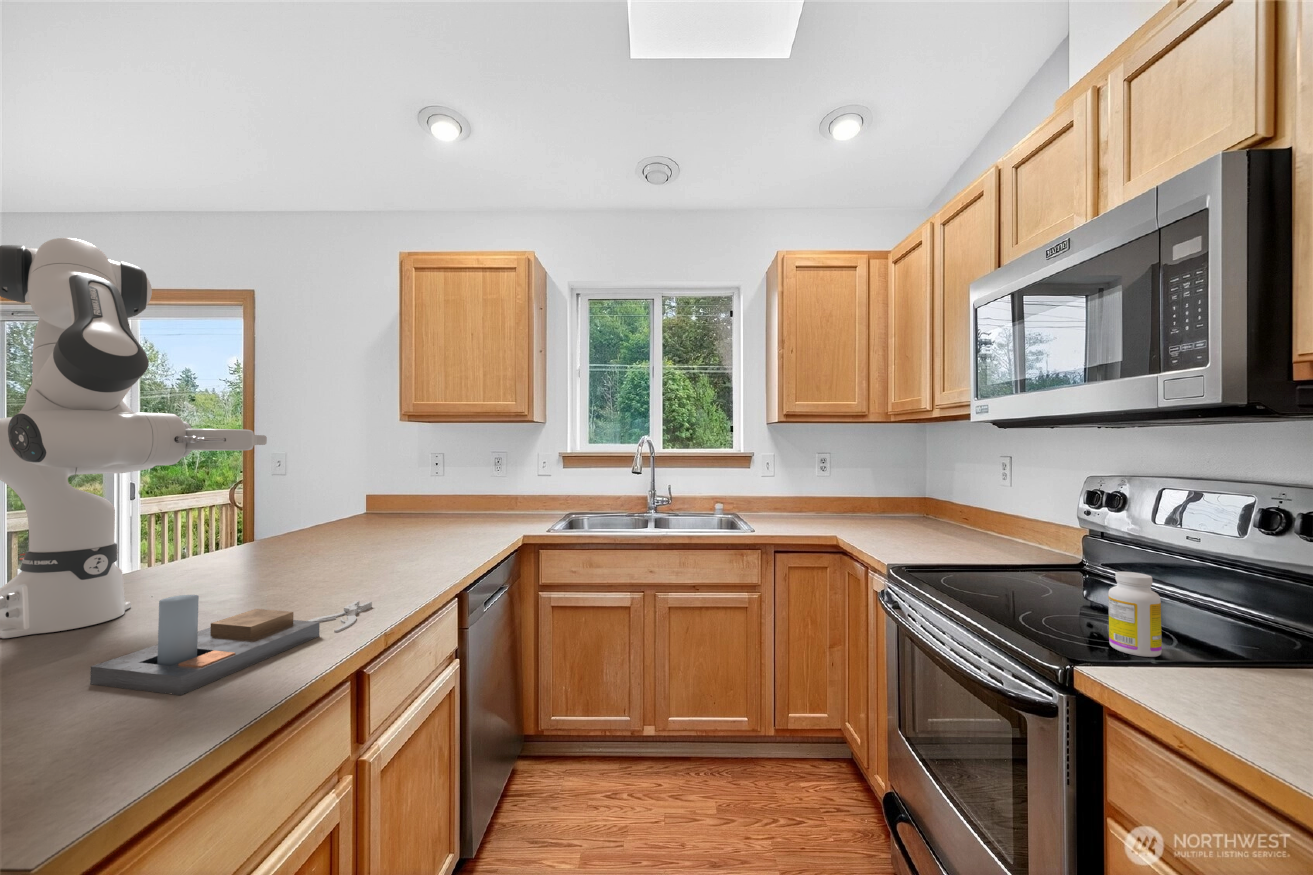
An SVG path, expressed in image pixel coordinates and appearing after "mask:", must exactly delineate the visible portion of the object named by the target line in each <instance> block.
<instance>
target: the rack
mask: <svg viewBox="0 0 1313 875" xmlns="http://www.w3.org/2000/svg"><path fill="white" fill-rule="evenodd" d="M320 623H321V622H313V621H307V620H302V619H301V620H300V619H299V620H298V619H294V611H289V610H288V611H287V610H286V611H285V610H276V609H262V608H261V609H260V608H253V609H251V610H248V611H245V612H241V613H238V614H235V615H233V616H232V615H231V616H229V617H227V618H222V619H219V620H217V621H214V622H211V623H210V627H207V628H204V629H201V630H198V640H197V657H195V658H192V659H190V660H187V661H184V662H181V663H179V664H176V665H173V666H166V665H157V660H158V644H155V645H152V646H150V647H146V648H143V649H141V650H137V651H134V652H131V653H127V654H125V655H124V654H123V655H121V656H118V657H116V658H112V659H109V660H106V661H103V662H100V663H97V664H93V665H91V666H90V673H89V674H90V676H89V679H90V681H89V684H90V685H93V686H94V685H95V686H101V687H108V688H109V687H111V688H118V689H120V688H121V689H126V690H134V691H142V690H145V691H144V692H150V691H153V692H152V693H158V692H159V694H166V693H172V694H171V695H174V694H176V696H183V695H185V694H187V693H189V692H192V691H194V690H197V689H199V688H201V686H202V687H204V686H206V685H208V683H209V684H210V683H213V682H216V681H217V680H220V679H222V678H224V677H226V676H230V675H231V674H234V673H237V672H238V671H241V670H243V669H247V668H248V667H250V666H253V665H256V664H257V663H260V662H262V661H264V660H267V659H268V658H269V659H270V658H272V657H274V656H277V655H278V654H281V653H283V652H285V651H288V650H290V649H292V648H295V647H297V646H300V645H302V644H305V643H306V642H309V641H311V640H314V639H316V638H319V637H320V625H321V624H320ZM184 693H185V694H184ZM182 694H183V695H182Z"/></svg>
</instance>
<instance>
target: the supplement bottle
mask: <svg viewBox="0 0 1313 875" xmlns="http://www.w3.org/2000/svg"><path fill="white" fill-rule="evenodd" d="M1114 575H1115V577H1114V578H1115V581H1116V585H1115V586H1113V587H1112V586H1111V587H1110V588H1109V590H1108V595H1107V596H1108V600H1107V601H1108V640H1109V646H1111V647H1112V648H1113V649H1115V650H1117V651H1119V652H1121V653H1125V654H1129V655H1133V656H1138V657H1146V658H1148V657H1149V658H1156V657H1159V656H1161V655H1162V650H1163V649H1162V648H1163V647H1162V646H1163V644H1162V643H1163V642H1162V641H1163V640H1162V601H1161V596H1160V595H1159V594H1158V593H1157V592H1155V591H1154V590H1152V588H1151V587H1152V585H1153V577H1152V575H1149V574H1145V573H1140V572H1134V571H1133V572H1132V571H1115V574H1114Z"/></svg>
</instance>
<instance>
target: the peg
mask: <svg viewBox="0 0 1313 875" xmlns="http://www.w3.org/2000/svg"><path fill="white" fill-rule="evenodd" d="M199 597H200V596H199V595H197V594H182V595H173V596H170V597H165V598H162V599H160V600H158V626H157V627H158V630H157V645H158V660H157V665H166V666H173V665H176V664H179V663H181V662H184V661H187V660H190V659H192V658H195V657H197V640H198V631H199V600H200V598H199Z"/></svg>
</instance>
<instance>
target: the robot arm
mask: <svg viewBox="0 0 1313 875" xmlns="http://www.w3.org/2000/svg"><path fill="white" fill-rule="evenodd" d="M108 258H109V257H107V255H106V254H105V252H103V251H102V250H101V249H100V248H98V247H97V246H95V245H93V244H92V243H90V242H87V241H85V240H82V239H79V238H78V239H77V238H72V237H56V238H52V239H49V240H47V241H44V243H42V244H41V245H40V246H39V248H38V247H37V248H36V247H25V245H24V244H23V245H22V244H2V245H0V297H1V298H3V299H5V300H10V301H12V302H17V303H21V304H26V303H29V304H30V306H31V309H32V310H33V313H35V314H34V315H36V316H37V317H38V321H37V324H36V328H35V331H34V336H33V344H32V370H31V371H32V373H31V376H32V379H31V380H32V383H31V385H30V387H29V389H28V391H27V392H26V396H25V402H24V405H23V406H22V407H21V409H20V410H19V412H18V413H16V414H14V415H13V416H10V417H9V416H7V417H0V481H1V482H3V483H4V484H6V485H7V486H8V487H9V488H10V489H12V490H13V491H14V493H15V494H16V495H17V496H18V497H19V499H20V500H21V502H22V503H23V505H24V508H25V511H26V517H27V522H28V523H27V524H28V525H27V526H28V550H27V551H26V552H25V553H20V554H19V556H23V557H22V558H21V557H20V558H19V561H21V564H20V568H19V570H20V572H19V573H17V575H16V576H14V577H13V578H11V579H10V580H9V581H8V582H6V584H4V585H3V586H2V587H0V638H1V639H10V638H17V637H23V636H28V635H37V634H46V633H54V632H60V631H61V632H62V631H67V630H73V629H79V628H80V629H81V628H85V627H89V626H93V625H97V624H102V623H105V622H108V621H111V620H115V619H117V618H119V617H121V616H123V615H124V614H125V613H126V611H127V610H129V609H130V608H132V604H131V601H126V596H125V587H124V586H125V585H124V584H125V583H124V575H123V570H122V569H121V568H120V567H119V566H117V565H116V562H118V554H119V549H118V543H116V542H115V527H116V526H115V524H116V522H115V521H116V520H115V517H116V516H115V515H116V510H115V507H114V505H113V503H112V502H111V501H109V499H107V498H106V497H103V496H101V495H98V494H95V493H93V492H88V491H85V490H82V489H79V488H75V487H74V486H72V485H71V484H70V482H69V478H70V477H71V476H75V475H104V474H106V475H107V474H127V473H131V472H132V473H134V472H138V471H144V470H149V469H153V468H154V467H156V466H173V465H176V464H177V463H178V462H180V460H181V459H182V458H186V457H187V456H189V455H190V453H191V452H192V451H215V452H216V451H219V452H220V451H251V450H253V448H254V446H264V445H267V443H268V442H267V441H268V440H267V435H264V434H260V435H259V434H258V435H257V434H255V433H254V431H253V430H251V429H242V428H241V429H237V428H236V429H234V428H233V429H232V428H230V429H229V428H192V426H191V425H190V424H189V423H188V422H186V421H184V420H182V419H181V418H180V416H178V415H177V414H175V413H169V412H168V413H167V412H165V413H163V412H143V411H141V412H140V411H133V410H131V408H130V407H129V406H128V405H127V404H126V403H125V401H124V400H123V399H125V397H126V396H127V394H128V392H130V390H131V389H132V387H133V386H134V385H135V384H136V383H137V382H138V381H139V380H140V379H141V377H142V376H143V375H144V374H145V373H146V372H147V370H148V368H149V358H148V355H147V353H146V351H145V350H144V349H143V347H142V345H141V344H140V342H139V341H138V340H137V339H136V337H135V335H134V333H132V329H131V326H130V322H129V318H133V317H135V316H137V315H139V314H140V313H142V312H144V311H145V310H146V308H147V306H148V305H149V303H150V301H151V299H152V294H153V289H152V285H151V282H150V280H149V278H148V276H147V273H146V272H145V271H144V270H143V269H142V268H141V267H139V266H137V265H134V264H131V263H129V262H125V261H120V262H119V261H115V260H111V259H108Z"/></svg>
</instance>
